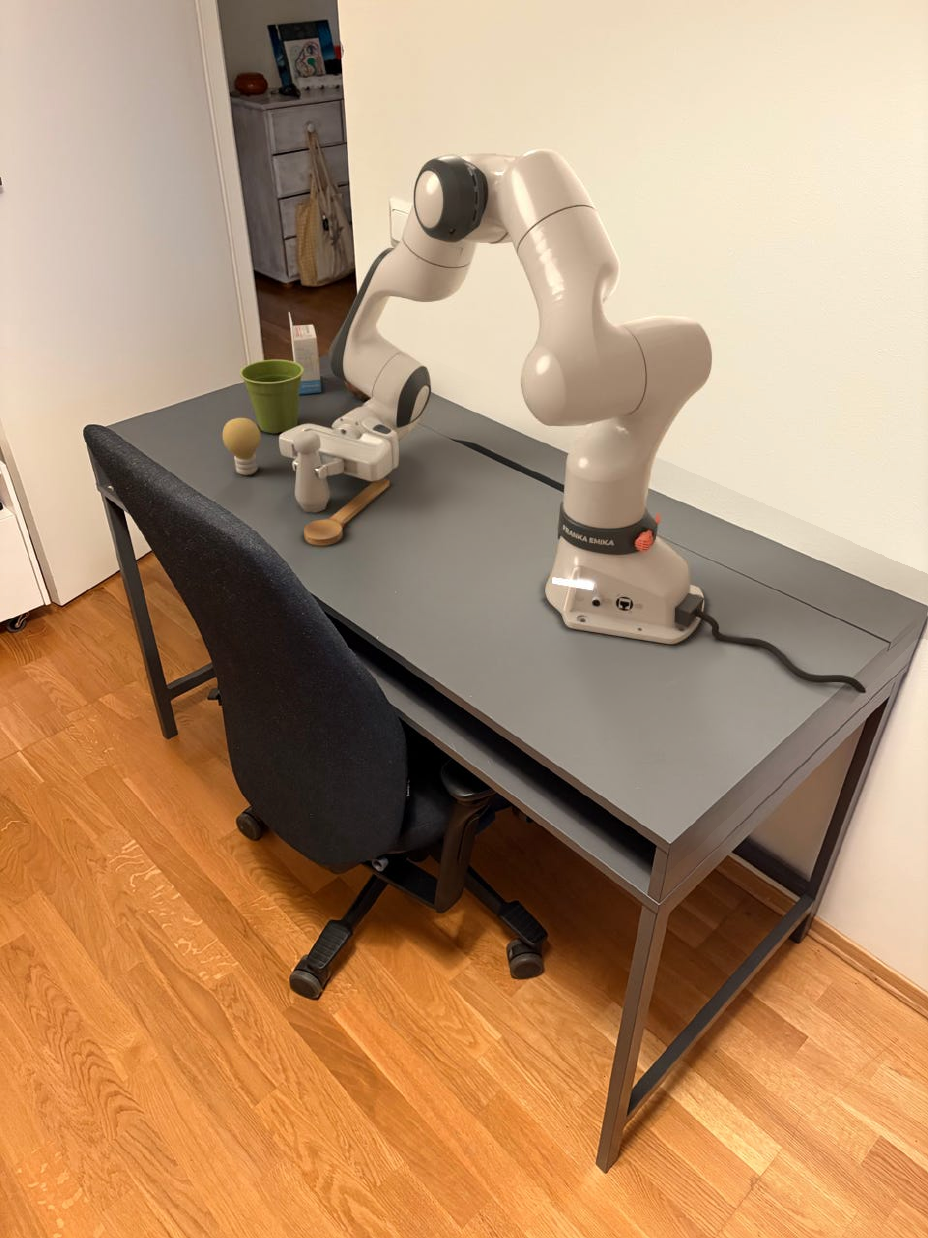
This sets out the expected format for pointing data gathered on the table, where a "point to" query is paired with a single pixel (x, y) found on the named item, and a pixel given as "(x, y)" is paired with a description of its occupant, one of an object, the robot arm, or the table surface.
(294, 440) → the salt shaker
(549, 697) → the table surface
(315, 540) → the wooden spoon
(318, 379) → the ink box
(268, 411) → the plant pot
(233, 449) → the light bulb
